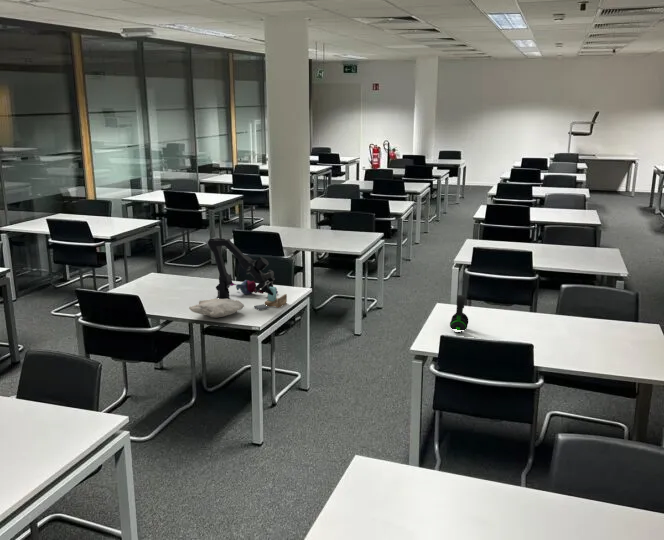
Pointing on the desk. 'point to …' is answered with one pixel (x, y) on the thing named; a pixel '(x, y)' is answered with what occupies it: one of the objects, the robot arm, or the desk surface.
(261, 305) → the gray block
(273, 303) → the tan piece
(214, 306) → the decorative stone
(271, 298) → the teal block
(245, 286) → the toy
